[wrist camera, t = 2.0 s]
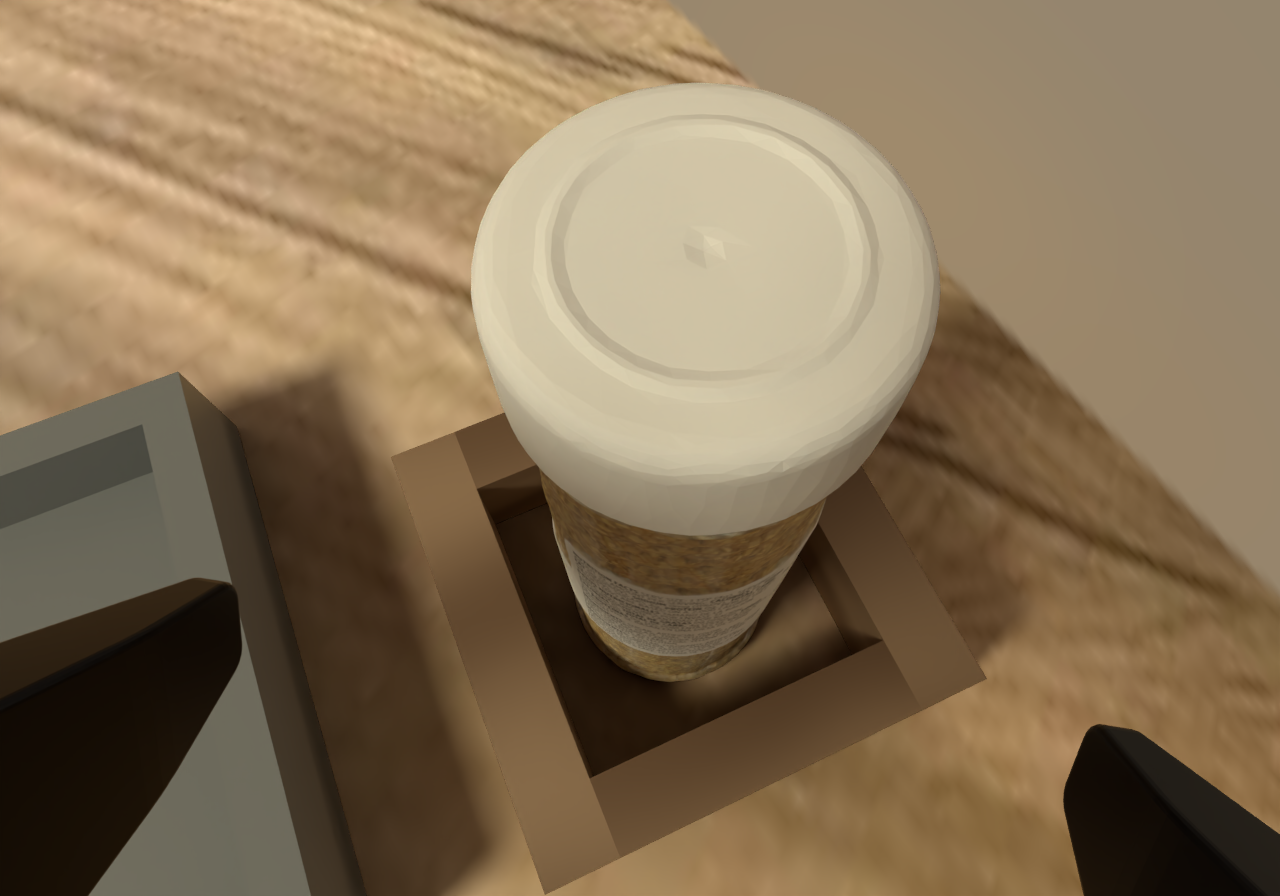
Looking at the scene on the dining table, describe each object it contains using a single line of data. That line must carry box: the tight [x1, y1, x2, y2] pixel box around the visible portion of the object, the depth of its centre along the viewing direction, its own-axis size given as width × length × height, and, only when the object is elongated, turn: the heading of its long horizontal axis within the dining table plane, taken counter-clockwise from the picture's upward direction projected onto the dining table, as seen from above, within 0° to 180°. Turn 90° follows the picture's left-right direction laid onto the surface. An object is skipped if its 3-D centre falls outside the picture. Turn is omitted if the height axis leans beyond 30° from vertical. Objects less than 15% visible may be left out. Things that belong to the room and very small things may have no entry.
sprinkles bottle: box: [471, 83, 940, 682], centre depth 14 cm, size 5×5×14 cm
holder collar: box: [391, 413, 987, 895], centre depth 19 cm, size 10×10×2 cm
